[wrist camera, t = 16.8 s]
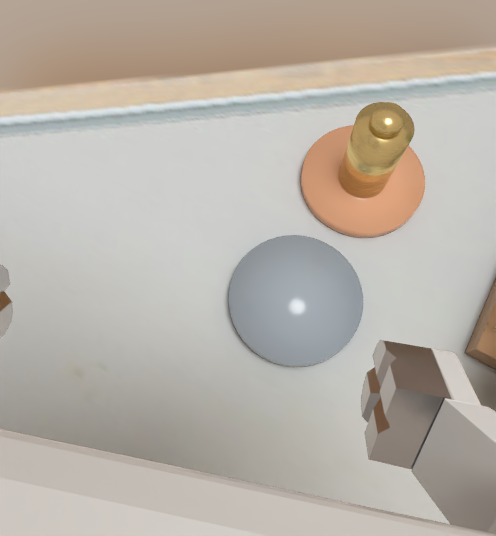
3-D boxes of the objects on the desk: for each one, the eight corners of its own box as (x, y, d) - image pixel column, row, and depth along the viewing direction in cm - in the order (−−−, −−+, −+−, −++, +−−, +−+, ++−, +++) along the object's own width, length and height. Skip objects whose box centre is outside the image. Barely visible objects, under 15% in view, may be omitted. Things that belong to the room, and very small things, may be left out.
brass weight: (329, 184, 40) (348, 125, 32) (350, 148, 42) (374, 82, 34) (374, 206, 40) (405, 151, 32) (394, 168, 41) (429, 106, 33)
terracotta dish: (279, 202, 41) (280, 196, 40) (333, 115, 44) (335, 107, 43) (390, 258, 39) (394, 254, 38) (438, 163, 42) (443, 156, 41)
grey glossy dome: (204, 324, 37) (203, 321, 36) (269, 220, 40) (269, 214, 39) (323, 392, 35) (325, 391, 34) (381, 277, 39) (385, 273, 37)
